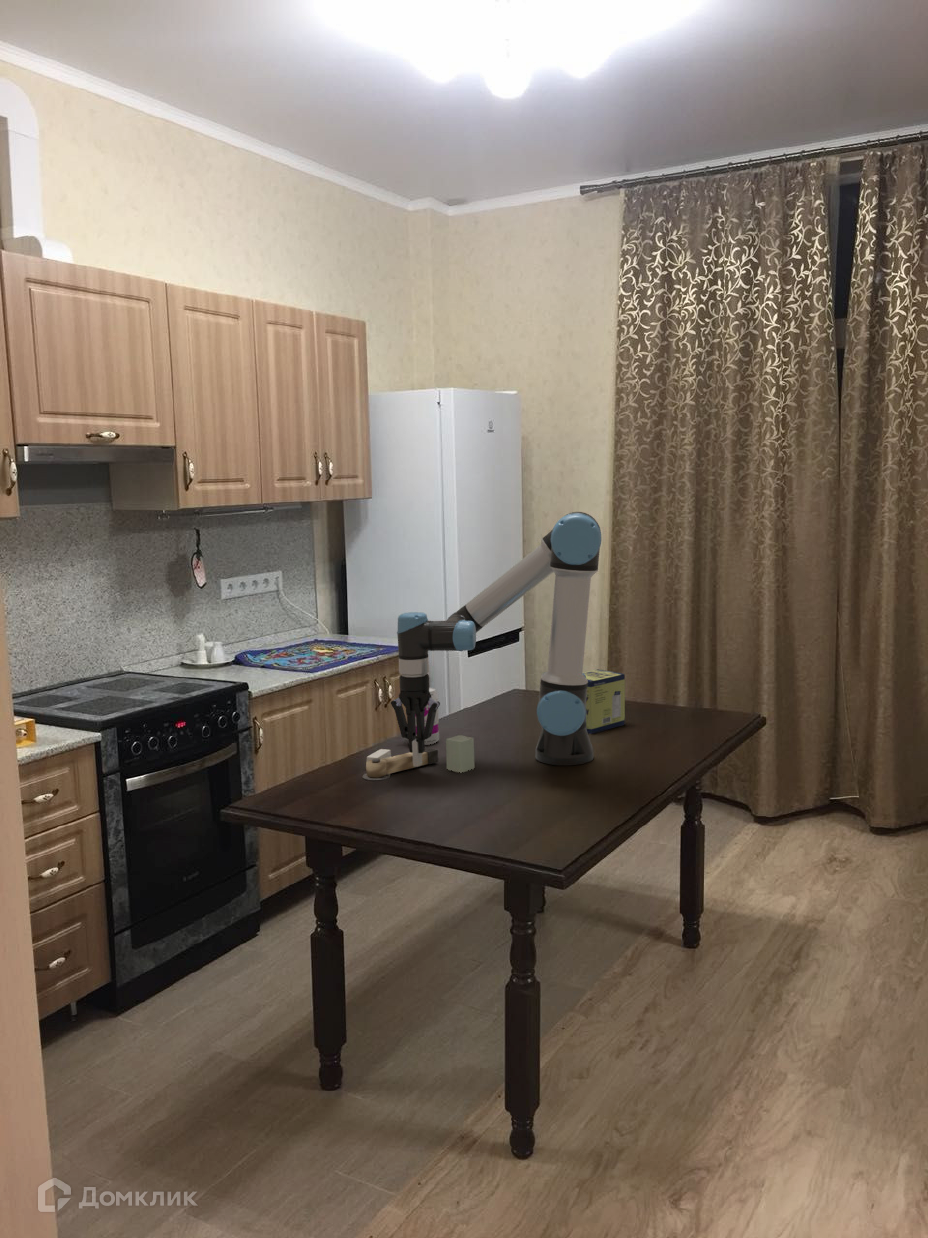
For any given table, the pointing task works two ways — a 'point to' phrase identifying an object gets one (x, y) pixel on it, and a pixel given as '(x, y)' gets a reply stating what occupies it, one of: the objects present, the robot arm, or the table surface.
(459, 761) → the tall sage green block
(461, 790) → the table surface
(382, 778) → the pivot plate
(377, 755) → the stop block
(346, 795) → the table surface
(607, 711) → the protein box
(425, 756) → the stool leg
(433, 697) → the supplement can
